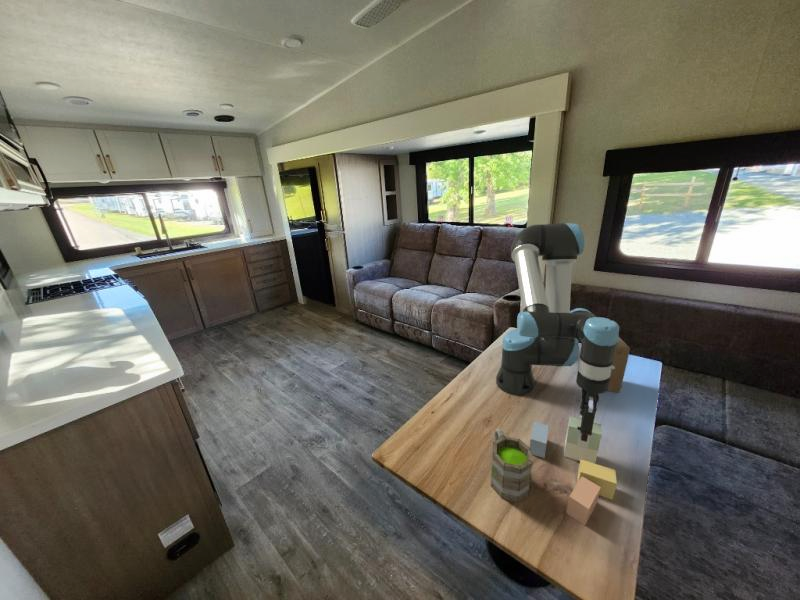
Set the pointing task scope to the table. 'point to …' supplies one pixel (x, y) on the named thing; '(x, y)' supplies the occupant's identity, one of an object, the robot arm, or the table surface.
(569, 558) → the table surface
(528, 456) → the mug
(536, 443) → the slate brick
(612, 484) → the ochre brick
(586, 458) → the cream brick
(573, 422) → the sage brick
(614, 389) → the wooden block
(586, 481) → the terracotta brick
